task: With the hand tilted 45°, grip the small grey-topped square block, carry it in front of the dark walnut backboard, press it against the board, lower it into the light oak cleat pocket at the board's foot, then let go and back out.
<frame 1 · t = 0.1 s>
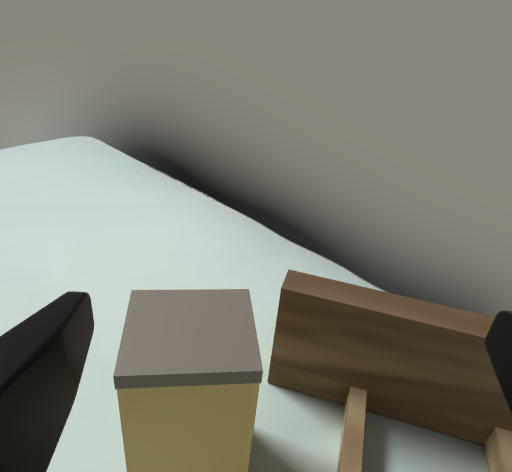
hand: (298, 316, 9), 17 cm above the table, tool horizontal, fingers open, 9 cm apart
grey-topped square block: (189, 461, 23), on the table
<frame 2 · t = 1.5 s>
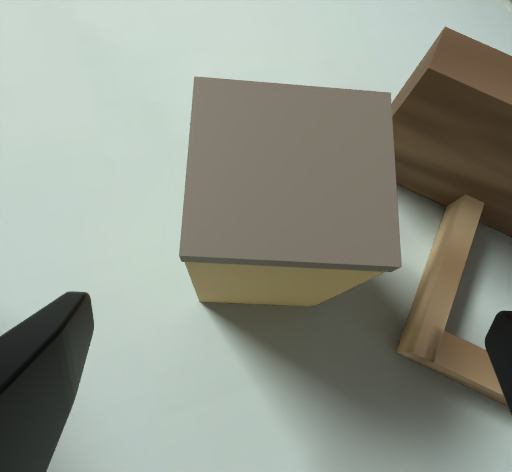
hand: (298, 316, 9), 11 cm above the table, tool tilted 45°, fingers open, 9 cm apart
wall board: (511, 309, 21), on the table
grey-topped square block: (258, 253, 21), on the table
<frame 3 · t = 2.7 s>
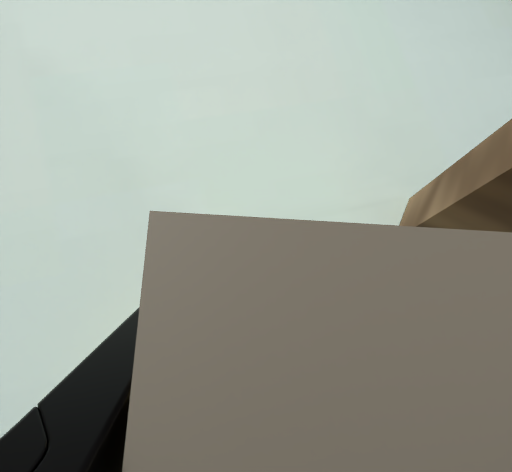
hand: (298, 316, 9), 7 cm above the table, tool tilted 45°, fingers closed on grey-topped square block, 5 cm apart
grey-topped square block: (264, 368, 15), on the table, touching gripper
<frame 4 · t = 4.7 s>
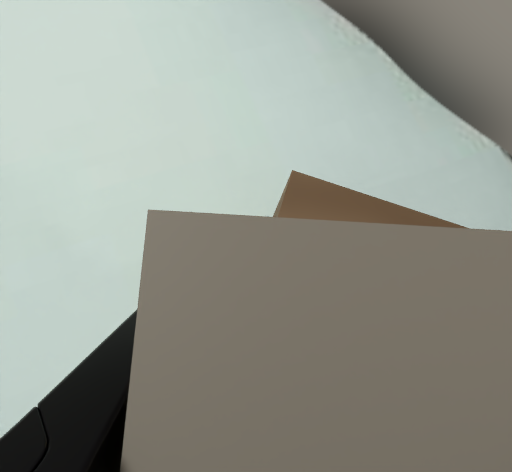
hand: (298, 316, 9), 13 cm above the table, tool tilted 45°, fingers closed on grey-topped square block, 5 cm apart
wall board: (415, 384, 22), on the table
grey-topped square block: (263, 368, 15), point 7 cm above the table, touching gripper
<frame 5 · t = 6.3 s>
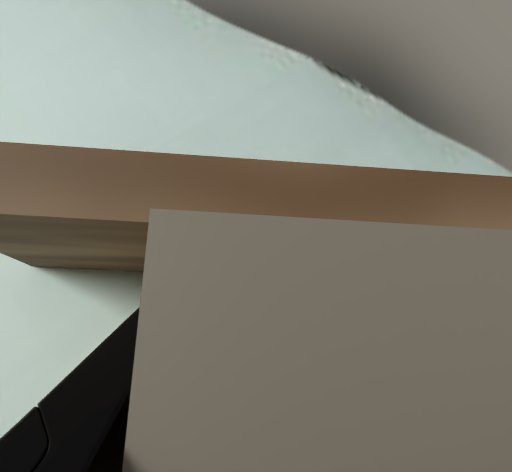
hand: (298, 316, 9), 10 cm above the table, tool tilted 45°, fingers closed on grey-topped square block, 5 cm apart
wall board: (257, 363, 18), on the table
grey-topped square block: (264, 367, 15), point 3 cm above the table, touching gripper
when the fingers open (7 cm above the table, at t = 7.7 s): grey-topped square block stays where it is, resting in wall board.
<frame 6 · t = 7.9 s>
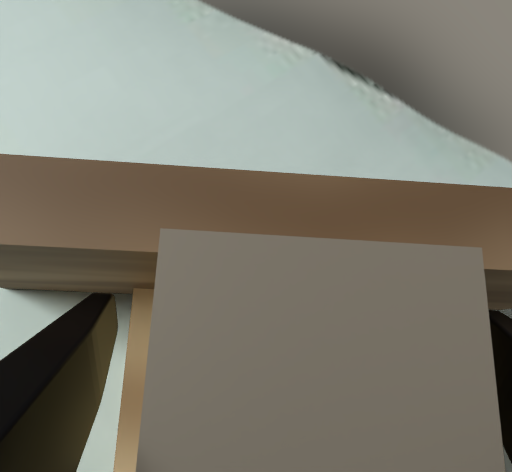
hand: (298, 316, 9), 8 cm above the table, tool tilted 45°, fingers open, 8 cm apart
wall board: (259, 399, 16), on the table
grey-topped square block: (261, 366, 16), resting in wall board
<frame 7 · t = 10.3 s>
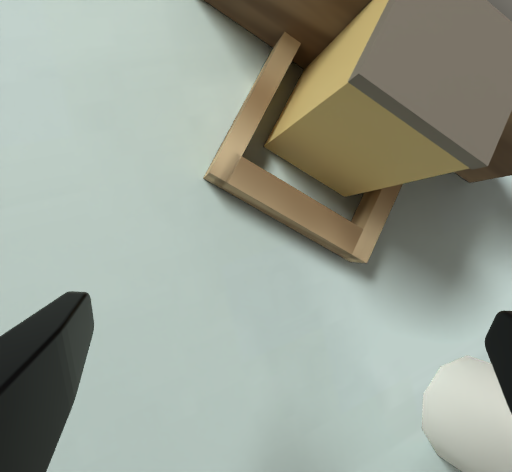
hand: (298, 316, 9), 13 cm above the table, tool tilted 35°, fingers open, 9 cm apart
wall board: (315, 151, 23), on the table
fire extinguisher: (467, 415, 26), on the table
grey-topped square block: (324, 134, 24), resting in wall board
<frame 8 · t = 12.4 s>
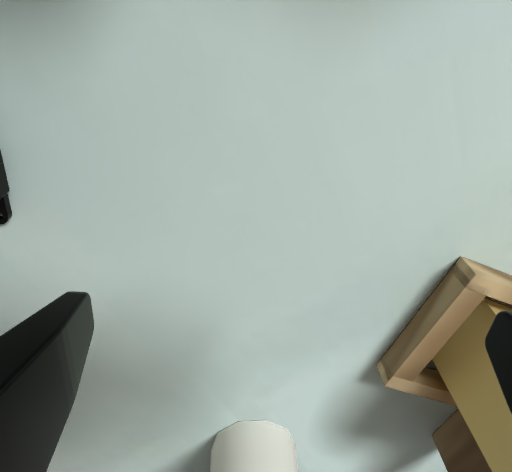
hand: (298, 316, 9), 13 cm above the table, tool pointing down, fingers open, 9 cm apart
wall board: (472, 333, 27), on the table
fire extinguisher: (247, 447, 33), on the table
grey-topped square block: (485, 338, 28), resting in wall board
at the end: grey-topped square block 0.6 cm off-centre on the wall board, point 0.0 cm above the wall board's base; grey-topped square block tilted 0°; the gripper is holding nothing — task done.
